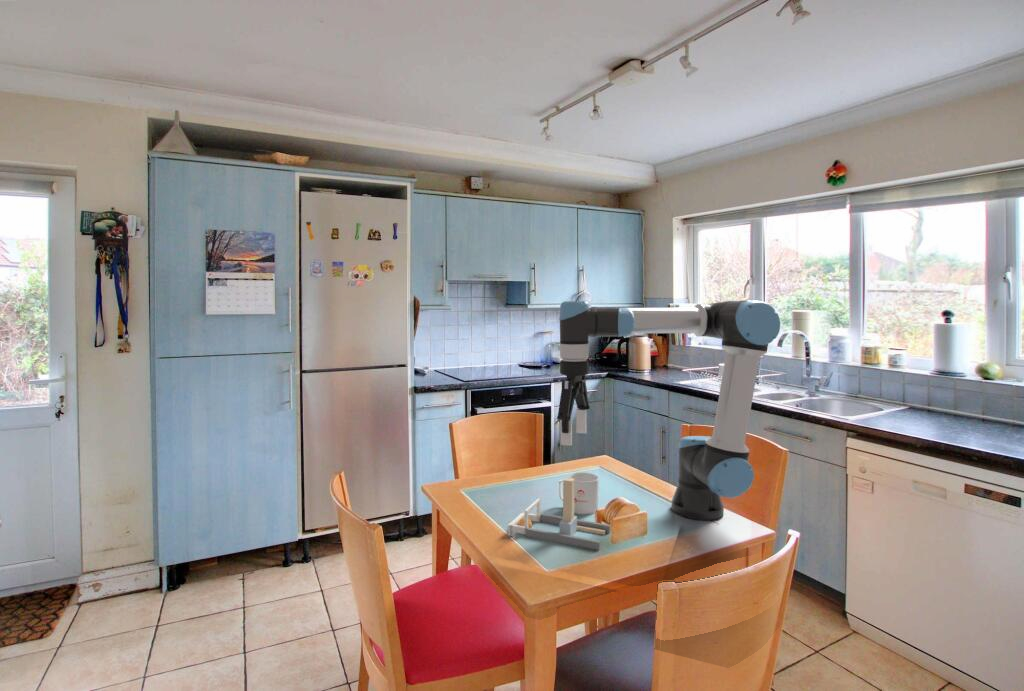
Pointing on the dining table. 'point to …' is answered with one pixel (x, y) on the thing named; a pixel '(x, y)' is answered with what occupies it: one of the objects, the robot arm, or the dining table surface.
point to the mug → (584, 492)
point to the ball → (522, 522)
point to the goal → (514, 525)
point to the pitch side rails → (568, 539)
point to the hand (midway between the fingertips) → (574, 438)
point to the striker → (568, 508)
